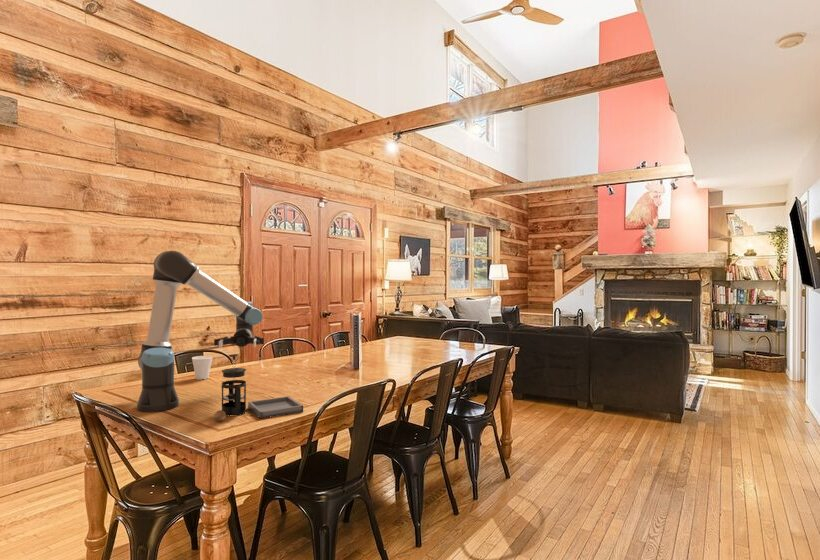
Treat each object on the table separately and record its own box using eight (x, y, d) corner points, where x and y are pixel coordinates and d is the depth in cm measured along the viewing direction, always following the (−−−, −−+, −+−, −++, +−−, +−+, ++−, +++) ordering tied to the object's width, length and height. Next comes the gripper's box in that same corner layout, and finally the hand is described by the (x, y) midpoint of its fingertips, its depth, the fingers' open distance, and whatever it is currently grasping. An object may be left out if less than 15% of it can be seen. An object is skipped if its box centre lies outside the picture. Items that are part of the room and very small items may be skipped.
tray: (260, 418, 182) (260, 412, 182) (248, 407, 196) (248, 401, 196) (303, 411, 191) (303, 405, 191) (288, 402, 205) (288, 396, 205)
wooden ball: (215, 423, 176) (215, 412, 175) (213, 420, 179) (213, 410, 179) (227, 421, 178) (227, 411, 178) (224, 419, 181) (224, 408, 181)
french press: (218, 411, 191) (218, 353, 191) (242, 407, 196) (242, 351, 196) (225, 418, 181) (225, 358, 181) (250, 414, 187) (250, 356, 186)
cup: (216, 376, 252) (216, 356, 252) (206, 381, 242) (206, 359, 242) (198, 376, 253) (198, 355, 253) (187, 380, 243) (187, 358, 243)
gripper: (270, 344, 222) (268, 352, 201) (213, 346, 216) (204, 354, 195) (270, 328, 221) (268, 334, 201) (213, 329, 215) (204, 336, 195)
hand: (237, 344), depth 198 cm, fingers open, 13 cm apart
